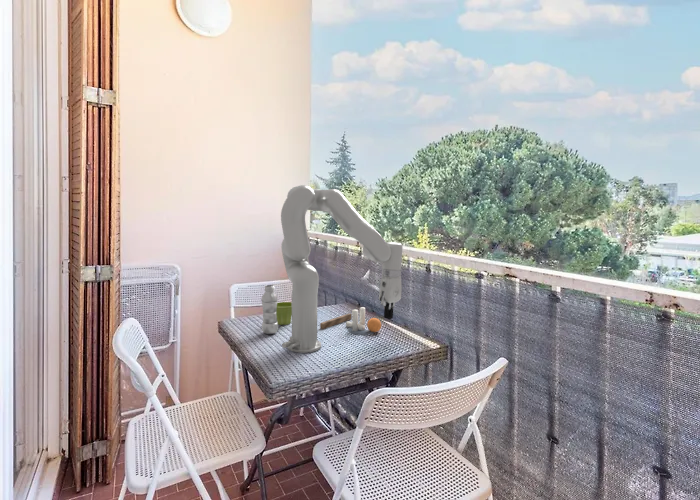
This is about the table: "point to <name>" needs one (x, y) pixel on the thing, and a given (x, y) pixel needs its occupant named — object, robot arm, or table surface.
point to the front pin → (360, 327)
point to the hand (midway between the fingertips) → (388, 318)
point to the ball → (374, 325)
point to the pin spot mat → (360, 332)
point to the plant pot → (284, 313)
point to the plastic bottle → (269, 310)
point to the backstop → (335, 321)
